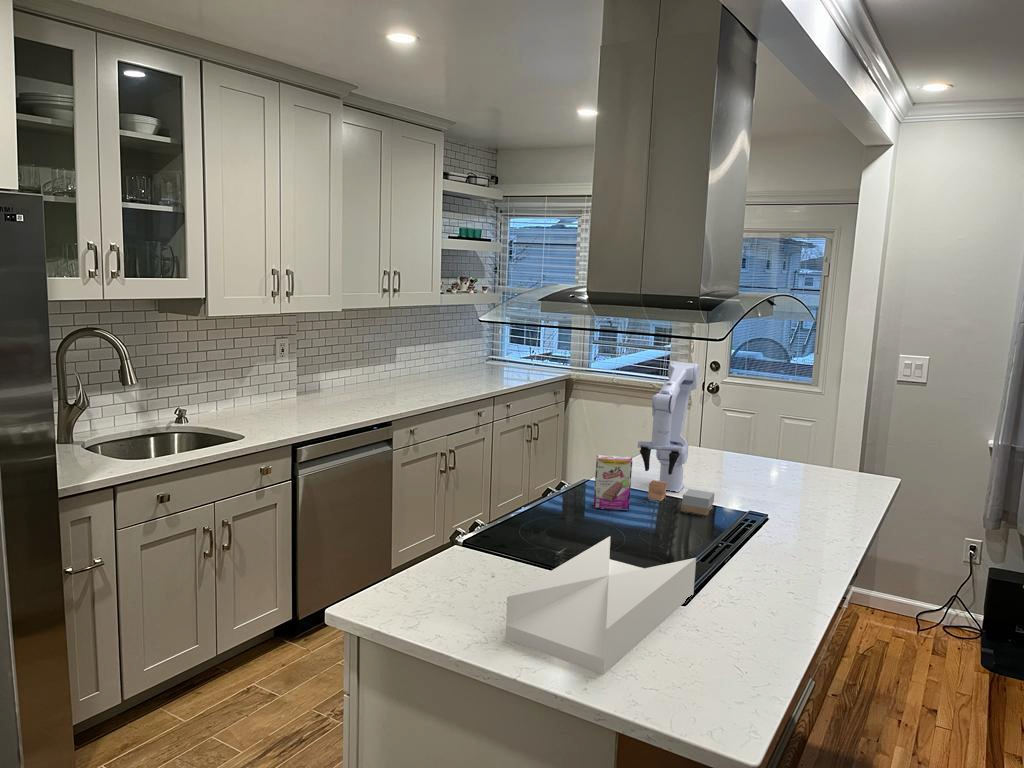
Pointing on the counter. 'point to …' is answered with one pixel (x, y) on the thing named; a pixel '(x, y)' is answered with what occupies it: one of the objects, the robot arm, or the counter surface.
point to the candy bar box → (612, 482)
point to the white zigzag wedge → (596, 607)
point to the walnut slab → (695, 509)
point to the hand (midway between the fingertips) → (658, 472)
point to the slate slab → (698, 498)
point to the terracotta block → (657, 490)
